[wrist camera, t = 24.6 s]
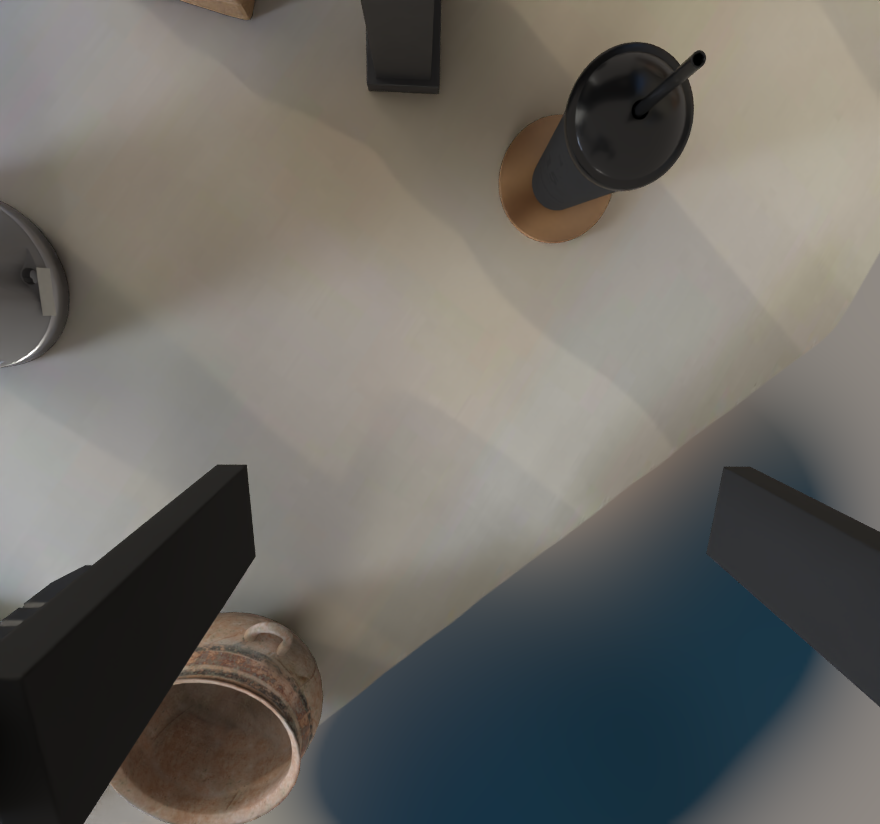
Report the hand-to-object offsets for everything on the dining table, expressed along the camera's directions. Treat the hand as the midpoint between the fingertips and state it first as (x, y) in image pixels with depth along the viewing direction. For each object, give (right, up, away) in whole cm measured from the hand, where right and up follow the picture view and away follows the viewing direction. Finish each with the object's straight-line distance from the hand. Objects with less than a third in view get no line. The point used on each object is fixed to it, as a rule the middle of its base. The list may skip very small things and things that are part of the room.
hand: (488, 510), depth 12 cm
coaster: (+9, +24, +27) cm, 37 cm away
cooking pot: (-23, -25, +38) cm, 52 cm away
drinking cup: (+9, +23, +27) cm, 37 cm away
